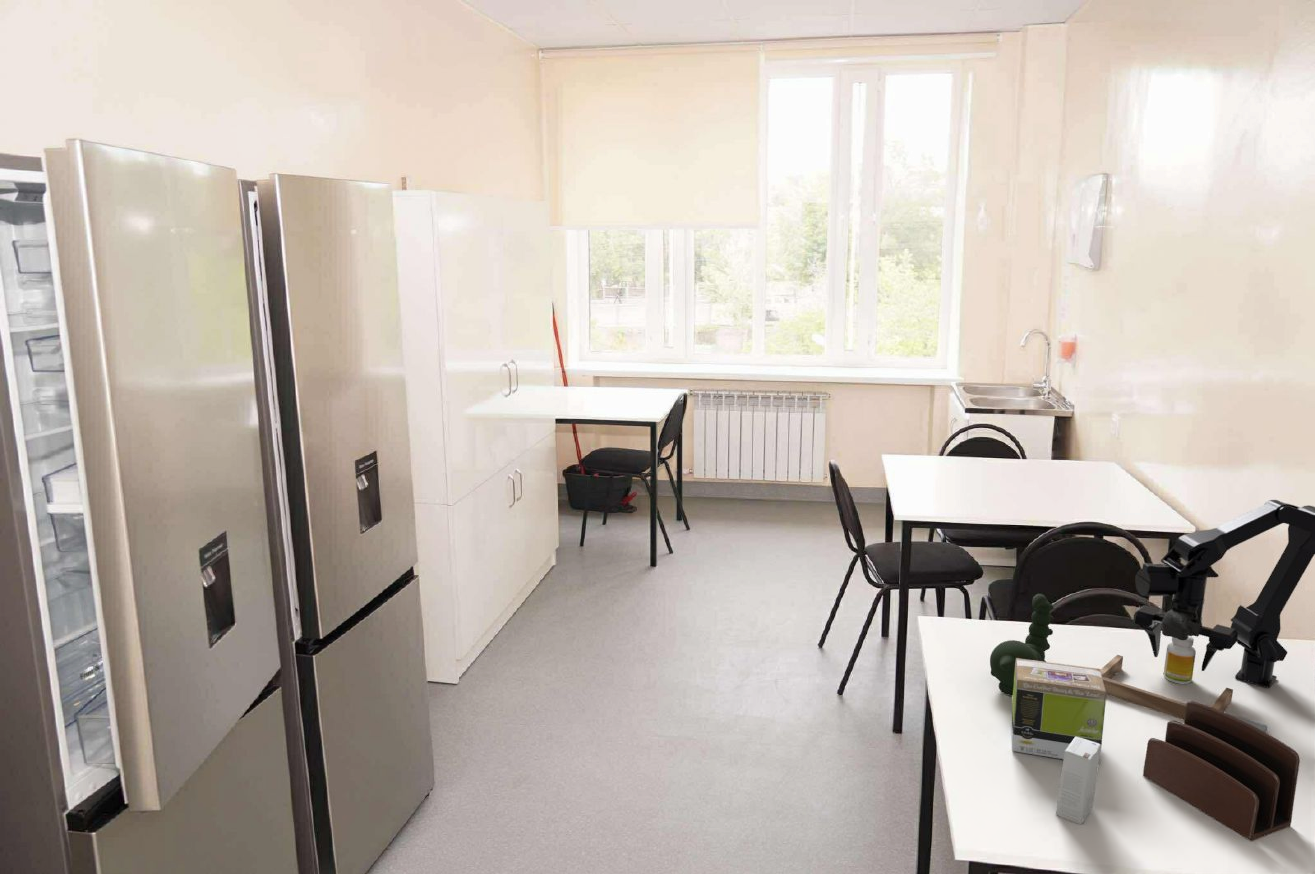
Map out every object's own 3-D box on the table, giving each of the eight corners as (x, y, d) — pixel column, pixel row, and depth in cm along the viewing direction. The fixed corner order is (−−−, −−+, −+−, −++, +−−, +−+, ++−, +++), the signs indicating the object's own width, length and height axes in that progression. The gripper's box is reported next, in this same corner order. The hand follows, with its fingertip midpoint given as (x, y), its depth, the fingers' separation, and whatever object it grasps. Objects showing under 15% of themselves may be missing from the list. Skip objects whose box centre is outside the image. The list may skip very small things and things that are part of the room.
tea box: (1093, 739, 175) (1102, 667, 172) (1099, 767, 166) (1108, 691, 163) (1008, 725, 180) (1015, 655, 177) (1010, 752, 171) (1017, 678, 168)
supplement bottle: (1195, 685, 196) (1201, 643, 194) (1167, 683, 197) (1173, 640, 195) (1186, 674, 202) (1192, 632, 199) (1159, 671, 203) (1165, 630, 200)
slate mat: (1225, 717, 184) (1226, 712, 183) (1266, 730, 179) (1267, 725, 179) (1211, 735, 177) (1211, 731, 176) (1253, 750, 172) (1254, 745, 172)
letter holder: (1180, 764, 168) (1190, 692, 165) (1291, 827, 150) (1305, 748, 147) (1141, 776, 164) (1151, 703, 161) (1250, 842, 146) (1263, 762, 143)
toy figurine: (1015, 664, 209) (974, 696, 190) (1025, 584, 206) (984, 608, 187) (1059, 677, 203) (1020, 711, 184) (1070, 594, 200) (1032, 620, 181)
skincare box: (1066, 798, 157) (1073, 733, 154) (1094, 809, 154) (1102, 743, 151) (1054, 815, 152) (1061, 748, 150) (1083, 826, 149) (1091, 759, 147)
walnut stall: (1115, 667, 205) (1117, 654, 204) (1231, 702, 189) (1233, 689, 189) (1091, 689, 195) (1092, 676, 194) (1210, 728, 179) (1212, 714, 179)
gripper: (1128, 593, 196) (1120, 661, 200) (1228, 618, 183) (1217, 691, 187) (1146, 579, 204) (1137, 645, 207) (1243, 603, 191) (1232, 673, 194)
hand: (1179, 663), depth 199 cm, fingers open, 9 cm apart
